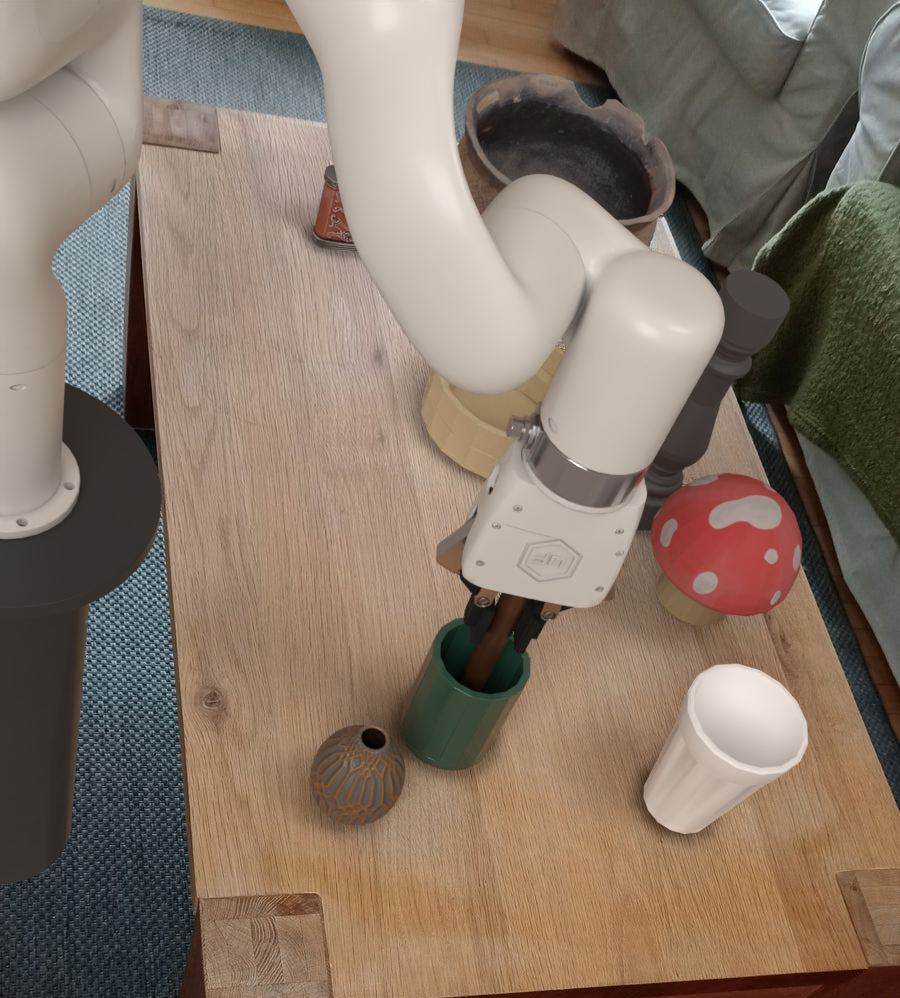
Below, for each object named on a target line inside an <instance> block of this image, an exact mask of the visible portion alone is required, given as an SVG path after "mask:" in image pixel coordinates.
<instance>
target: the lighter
mask: <svg viewBox="0 0 900 998" xmlns="http://www.w3.org/2000/svg"><path fill="white" fill-rule="evenodd" d="M323 174H324V175H323V180H324V183H323V187H322V190H321V191H322V192H321V197H320V202H319V204H318V205H319V206H318V209H317V210H318V211H317V213H316V218H315V223H314V224H313V226H312V230H311V233H310V240H311V242H312V243H313V244H314V245H315V246H317V247H318V248H321V249H326V250H332V251H337V252H349V253H358V251H357V249H356V246H355V244H354V242H353V239H352V237H351V233H350V230H349V227H348V224H347V221H346V218H345V214H344V209H343V205H342V201H341V197H340V192H339V187H338V182H337V177H336V172H335V167H334V164H329V165H327V166H326V167H325V170H324V173H323Z"/></svg>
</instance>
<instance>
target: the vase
mask: <svg viewBox="0 0 900 998" xmlns="http://www.w3.org/2000/svg"><path fill="white" fill-rule="evenodd" d="M405 764H406V763H405V758H404V755H403V752H402V750H401V747H400V746H399V745H398V743H397V742H396V741H395V740H394V738H393V737H392V736H391V735H390V734H389V733H388V731H387V730H386V729H385V728H384V727H382V726H380V725H379V724H376V723H368V724H353V725H347V726H344V727H343V728H340V729H338V730H336V731H335V732H334V733H332V734H331V735H330V736H328V738H326V739H325V740H324V741H323V742H322V744H321V745H320V746H319V748H318V749H317V751H316V753H315V755H314V758H313V761H312V764H311V768H310V774H309V783H310V784H309V785H310V790H311V794H312V797H313V799H314V801H315V803H316V805H317V807H318V808H319V809H320V811H322V812H323V814H325V815H326V816H327V817H328V818H330V819H331V820H332V821H335V822H337V823H339V824H342V825H346V826H354V827H357V826H364V825H365V826H366V825H369V824H372V823H374V822H377V821H378V820H380V819H382V818H383V817H384V816H385V815H387V813H389V812H390V811H391V810H392V809H393V807H395V805H396V803H397V801H398V800H399V798H400V797H401V794H402V791H403V789H404V786H405V782H406V765H405Z"/></svg>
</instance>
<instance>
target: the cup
mask: <svg viewBox="0 0 900 998" xmlns="http://www.w3.org/2000/svg"><path fill="white" fill-rule="evenodd" d="M808 729H809V728H808V722H807V720H806V717H805V715H804V713H803V711H802V708H801V706H800V704H799V702H798V701H797V700H796V698H795V697H794V696H793V695H792V694H791V693H790V692H789V690H788V689H787V688H786V687H785V686H784V685H783V684H782V683H781V682H779V681H778V680H776V679H775V678H773V677H771V676H770V675H769V674H767V673H765V672H763V670H760V669H757V668H754V667H750V666H748V665H743V664H740V663H724V664H713V665H711V666H710V667H708V668H706V669H705V670H703V671H701V672H699V673H697V674H696V676H695V678H694V679H693V682H692V683H691V685H690V687H689V688H688V690H687V692H686V693H685V696H684V698H683V700H682V701H681V703H680V710H679V714H678V716H677V718H676V721H675V722H674V724H673V726H672V728H671V730H670V732H669V734H668V736H667V738H666V740H665V742H664V745H663V746H662V748H661V751H660V752H659V755H658V756H657V758H656V760H655V763H654V765H653V767H652V769H651V771H650V773H649V775H648V777H647V779H646V781H645V783H644V784H643V797H642V798H643V800H644V803H645V805H646V808H647V811H648V812H649V814H650V815H651V817H653V818H654V819H655V821H656V822H657V823H658V824H660V825H662V826H663V827H665V828H666V829H668V830H669V831H672V832H675V833H679V834H683V835H686V834H687V835H688V834H696V833H699V832H700V831H702V830H705V828H707V827H708V826H710V825H711V824H713V823H714V822H715V821H716V820H718V819H720V818H721V817H723V816H724V815H725V814H727V813H728V812H729V811H732V809H733V808H735V807H737V806H738V805H739V804H741V803H743V802H744V801H745V800H746V799H748V798H750V797H751V796H752V795H754V794H755V793H756V792H758V791H759V790H761V789H762V788H763V787H765V786H766V785H768V784H769V783H772V782H774V781H776V780H777V779H778V778H780V777H782V776H783V775H785V774H786V773H788V772H789V771H791V770H792V769H793V768H794V767H796V766H797V765H798V764H799V763H800V762H801V761H802V758H803V756H804V754H805V752H806V750H807V748H808V746H809V730H808Z"/></svg>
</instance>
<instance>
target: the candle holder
mask: <svg viewBox="0 0 900 998" xmlns="http://www.w3.org/2000/svg"><path fill="white" fill-rule="evenodd" d="M717 293H718V294H719V296H720V298H721V301H722V304H723V308H724V315H725V323H724V329H723V334H722V337H721V339H720V342H719V344H718V346H717V348H716V350H715V352H714V354H713V355H712V357H711V359H710V361H709V362H708V364H707V366H706V368H705V369H704V371H703V373H702V375H701V377H700V378H699V380H698V382H697V384H696V385H695V387H694V389H693V391H692V392H691V394H690V396H689V398H688V399H687V401H686V403H685V405H684V406H683V408H682V410H681V412H680V413H679V415H678V417H677V419H676V421H675V422H674V424H673V426H672V428H671V430H670V431H669V433H668V435H667V437H666V439H665V440H664V442H663V444H662V446H661V447H660V449H659V451H658V453H657V455H656V456H655V458H654V460H653V462H652V464H651V465H650V467H649V469H648V471H647V472H646V474H645V476H644V479H645V485H646V489H647V497H646V501H645V506H644V509H643V513H642V516H641V519H640V522H639V525H638V528H637V530H636V531H640V532H641V531H643V532H651V529H652V522H653V518H654V517H655V515H656V514H657V512H658V511H659V509H660V508H661V506H662V505H663V504H664V502H665V501H666V500H667V498H668V497H669V496H670V495H671V494H673V493H674V492H675V491H676V490H678V489H680V488H681V487H683V486H684V485H683V483H684V478H685V477H684V473H683V471H684V470H685V469H686V468H689V467H691V466H693V465H695V464H696V463H697V462H699V461H700V459H701V458H702V457H703V456H704V455H705V454H706V452H707V450H708V449H709V447H710V442H711V439H712V435H713V432H714V428H715V424H716V421H717V418H718V415H719V411H720V409H721V404H722V401H724V398H725V396H726V395H727V393H728V391H729V390H730V388H731V386H732V385H733V383H734V381H735V380H739V379H742V378H744V377H745V376H746V375H747V374H748V373H749V372H750V370H751V369H752V363H753V359H752V356H753V355H755V354H758V353H759V352H760V351H761V350H762V349H763V348H766V347H767V346H768V344H769V343H770V342H772V340H773V338H774V336H775V335H776V333H777V331H778V330H779V328H780V326H781V325H782V323H783V322H784V320H785V318H786V317H787V315H788V314H789V312H790V307H791V300H790V298H789V296H788V294H787V292H786V291H785V290H784V289H783V287H782V286H781V285H780V284H779V283H778V282H776V281H775V280H773V279H772V278H771V277H769V276H768V275H765V274H763V273H761V272H758V271H756V270H751V269H743V268H741V269H737V270H733V271H731V272H730V273H729V274H728V275H727V276H726V278H725V279H724V281H723V283H722V285H721V287H720V289H719V290H718V291H717Z"/></svg>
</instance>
